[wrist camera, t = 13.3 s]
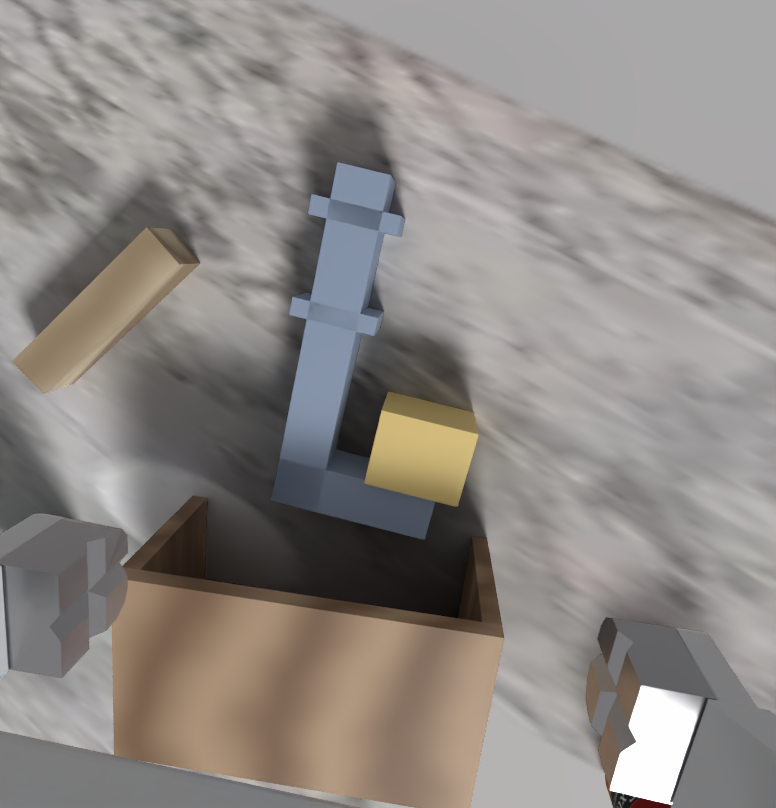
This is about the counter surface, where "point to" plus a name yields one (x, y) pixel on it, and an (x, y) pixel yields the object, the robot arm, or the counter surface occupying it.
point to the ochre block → (422, 449)
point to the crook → (341, 362)
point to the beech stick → (107, 309)
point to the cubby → (301, 679)
